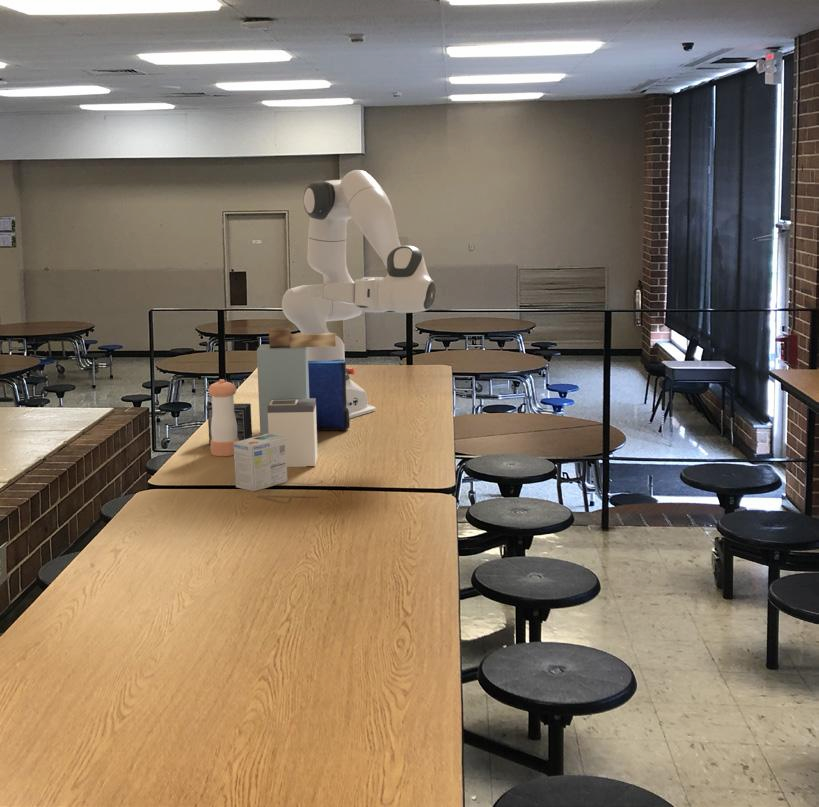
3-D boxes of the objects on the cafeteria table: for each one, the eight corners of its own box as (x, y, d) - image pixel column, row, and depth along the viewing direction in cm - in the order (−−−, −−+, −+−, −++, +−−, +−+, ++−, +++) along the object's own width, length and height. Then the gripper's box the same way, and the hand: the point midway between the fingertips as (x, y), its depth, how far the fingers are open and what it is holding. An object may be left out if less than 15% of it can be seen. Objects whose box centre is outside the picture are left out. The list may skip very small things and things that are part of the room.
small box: (253, 440, 300) (251, 402, 298) (247, 446, 294) (245, 407, 292) (215, 440, 301) (213, 402, 300) (208, 446, 295) (206, 407, 293)
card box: (317, 456, 281) (315, 397, 278) (315, 466, 271) (313, 405, 268) (273, 457, 280) (271, 398, 278) (269, 467, 271) (267, 406, 268)
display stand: (312, 445, 294) (308, 343, 289) (309, 454, 283) (306, 349, 278) (264, 446, 293) (259, 344, 288) (259, 455, 283) (255, 350, 278)
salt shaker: (205, 454, 285) (201, 380, 282) (222, 448, 291) (219, 376, 288) (228, 457, 282) (224, 382, 278) (245, 451, 288) (242, 378, 285)
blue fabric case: (350, 428, 314) (349, 357, 310) (348, 432, 309) (346, 360, 305) (300, 428, 315) (298, 358, 312) (296, 432, 310) (294, 360, 307)
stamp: (269, 348, 281) (269, 330, 280) (271, 345, 286) (270, 328, 285) (335, 347, 281) (334, 329, 280) (336, 344, 286) (335, 326, 285)
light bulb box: (268, 477, 261) (266, 432, 259) (288, 482, 257) (287, 436, 255) (234, 487, 253) (231, 441, 251) (254, 492, 249) (252, 445, 247)
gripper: (380, 285, 289) (329, 284, 292) (359, 278, 270) (305, 278, 273) (379, 309, 290) (328, 308, 293) (359, 305, 270) (304, 304, 273)
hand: (317, 294), depth 282 cm, fingers open, 8 cm apart
